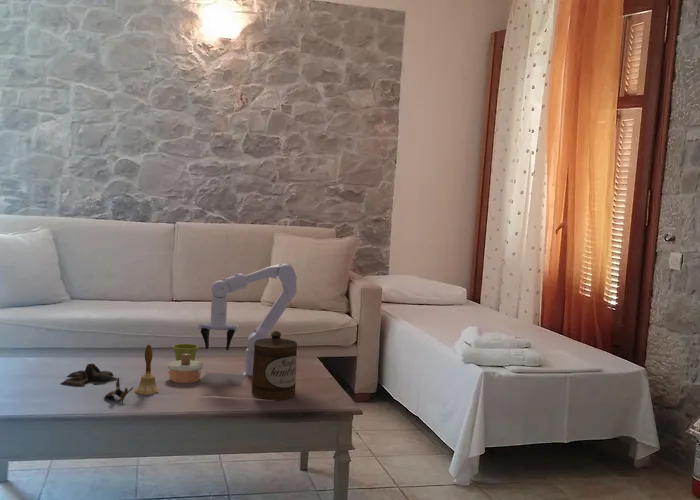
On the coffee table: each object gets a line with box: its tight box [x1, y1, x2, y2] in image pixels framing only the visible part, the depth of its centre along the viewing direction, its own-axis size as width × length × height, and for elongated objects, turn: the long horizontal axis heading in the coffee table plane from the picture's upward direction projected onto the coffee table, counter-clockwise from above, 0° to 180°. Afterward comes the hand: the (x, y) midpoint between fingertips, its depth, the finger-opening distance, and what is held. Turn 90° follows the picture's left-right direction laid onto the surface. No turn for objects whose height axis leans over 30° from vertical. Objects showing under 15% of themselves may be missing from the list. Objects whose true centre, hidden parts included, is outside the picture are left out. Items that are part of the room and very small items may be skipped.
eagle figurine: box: [104, 377, 134, 403], centre depth 242 cm, size 8×7×9 cm
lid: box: [167, 354, 204, 371], centre depth 267 cm, size 12×12×4 cm
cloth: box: [60, 363, 118, 388], centre depth 263 cm, size 22×19×6 cm
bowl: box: [169, 369, 202, 384], centre depth 268 cm, size 10×10×5 cm
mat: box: [197, 372, 247, 387], centre depth 271 cm, size 15×15×1 cm
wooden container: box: [251, 330, 298, 401], centre depth 256 cm, size 15×15×22 cm
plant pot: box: [172, 343, 199, 361], centre depth 285 cm, size 9×9×9 cm
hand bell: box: [134, 344, 160, 396], centre depth 251 cm, size 8×8×16 cm
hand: (217, 348), depth 279 cm, fingers open, 7 cm apart
